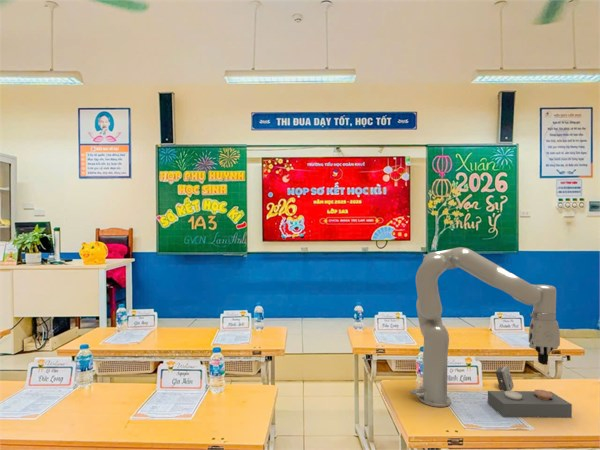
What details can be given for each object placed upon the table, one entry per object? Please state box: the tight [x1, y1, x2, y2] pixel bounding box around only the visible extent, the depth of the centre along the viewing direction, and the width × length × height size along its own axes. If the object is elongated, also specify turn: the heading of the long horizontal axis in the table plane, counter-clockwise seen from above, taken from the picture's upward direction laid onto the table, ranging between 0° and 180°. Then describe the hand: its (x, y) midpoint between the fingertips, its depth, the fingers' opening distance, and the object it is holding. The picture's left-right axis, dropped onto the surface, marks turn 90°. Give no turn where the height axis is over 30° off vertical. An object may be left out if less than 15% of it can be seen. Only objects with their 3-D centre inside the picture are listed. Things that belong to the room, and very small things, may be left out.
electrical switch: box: [495, 364, 514, 391], centre depth 177 cm, size 9×5×9 cm, turn 141°
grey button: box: [504, 390, 522, 400], centre depth 155 cm, size 6×6×5 cm
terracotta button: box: [533, 389, 553, 400], centre depth 155 cm, size 6×6×5 cm
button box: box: [487, 390, 573, 419], centre depth 155 cm, size 26×12×5 cm, turn 92°
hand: (542, 363), depth 155 cm, fingers closed
